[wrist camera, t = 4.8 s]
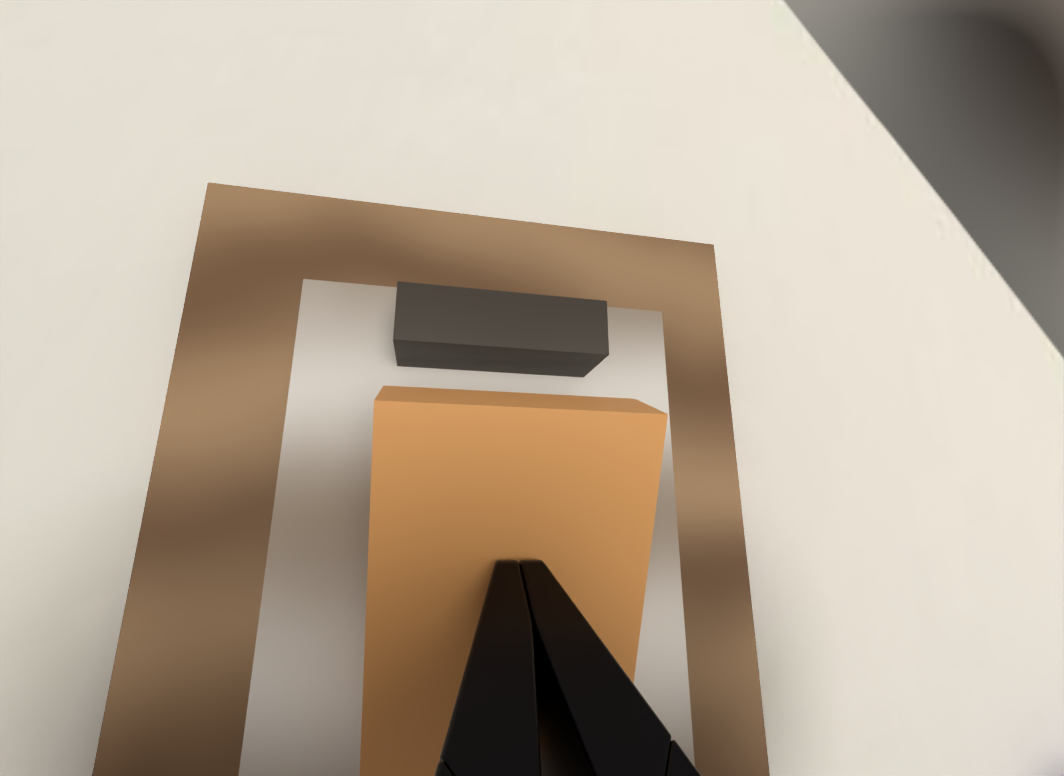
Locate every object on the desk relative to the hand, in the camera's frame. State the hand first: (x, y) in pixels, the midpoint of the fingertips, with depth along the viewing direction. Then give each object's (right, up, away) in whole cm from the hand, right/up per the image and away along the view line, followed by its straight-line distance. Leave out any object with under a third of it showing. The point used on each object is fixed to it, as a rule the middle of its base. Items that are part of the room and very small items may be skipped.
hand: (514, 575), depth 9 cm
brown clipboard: (-2, -1, +7) cm, 7 cm away
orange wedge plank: (0, 0, +1) cm, 2 cm away
